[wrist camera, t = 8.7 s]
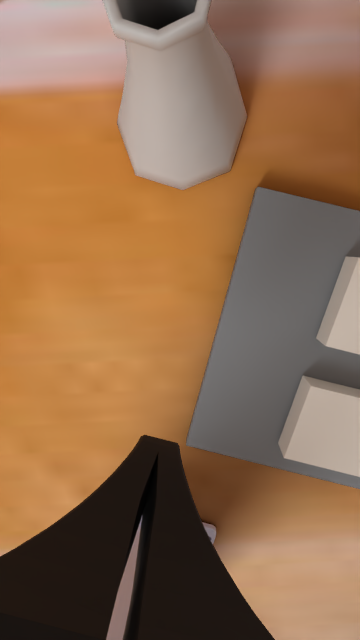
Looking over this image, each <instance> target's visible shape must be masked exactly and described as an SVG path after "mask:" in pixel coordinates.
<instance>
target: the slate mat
mask: <svg viewBox="0 0 360 640" xmlns="http://www.w3.org/2000/svg"><path fill="white" fill-rule="evenodd" d="M346 256H347V257H359V258H360V211H357V210H353V209H349V208H345V207H341V206H337V205H332V204H328V203H324V202H320V201H316V200H312V199H307V198H303V197H299V196H295V195H291V194H287V193H282V192H278V191H274V190H270V189H266V188H262V187H257V188H256V189H255V192H254V196H253V200H252V203H251V207H250V210H249V214H248V218H247V221H246V225H245V229H244V232H243V236H242V239H241V243H240V247H239V250H238V254H237V258H236V261H235V265H234V268H233V272H232V276H231V279H230V283H229V287H228V290H227V294H226V297H225V301H224V305H223V308H222V312H221V316H220V319H219V323H218V326H217V330H216V334H215V337H214V341H213V345H212V348H211V352H210V355H209V359H208V363H207V366H206V370H205V374H204V377H203V381H202V384H201V388H200V392H199V395H198V399H197V403H196V406H195V410H194V413H193V417H192V421H191V424H190V428H189V432H188V435H187V440H186V446H190V447H194V448H198V449H202V450H206V451H210V452H214V453H218V454H222V455H226V456H230V457H234V458H238V459H242V460H246V461H250V462H254V463H258V464H262V465H266V466H270V467H274V468H278V469H282V470H286V471H290V472H294V473H298V474H302V475H306V476H310V477H314V478H318V479H322V480H326V481H330V482H334V483H338V484H342V485H346V486H350V487H354V488H358V489H360V477H358V476H354V475H350V474H346V473H342V472H338V471H334V470H330V469H326V468H322V467H318V466H314V465H310V464H306V463H302V462H298V461H294V460H290V459H286V458H284V457H283V454H282V452H281V449H280V446H279V444H278V442H279V439H280V436H281V434H282V431H283V428H284V425H285V423H286V420H287V417H288V414H289V412H290V409H291V406H292V403H293V401H294V398H295V395H296V392H297V390H298V387H299V384H300V381H301V379H302V376H307V377H311V378H315V379H319V380H323V381H327V382H331V383H335V384H339V385H343V386H347V387H352V388H356V389H360V355H359V354H355V353H351V352H347V351H343V350H339V349H335V348H331V347H327V346H325V345H324V344H322V343H321V342H320V341H319V340H317V339H316V337H317V334H318V331H319V329H320V326H321V323H322V320H323V317H324V315H325V312H326V309H327V306H328V304H329V301H330V298H331V295H332V293H333V290H334V287H335V284H336V282H337V279H338V276H339V273H340V271H341V268H342V265H343V262H344V260H345V257H346Z"/></svg>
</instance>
